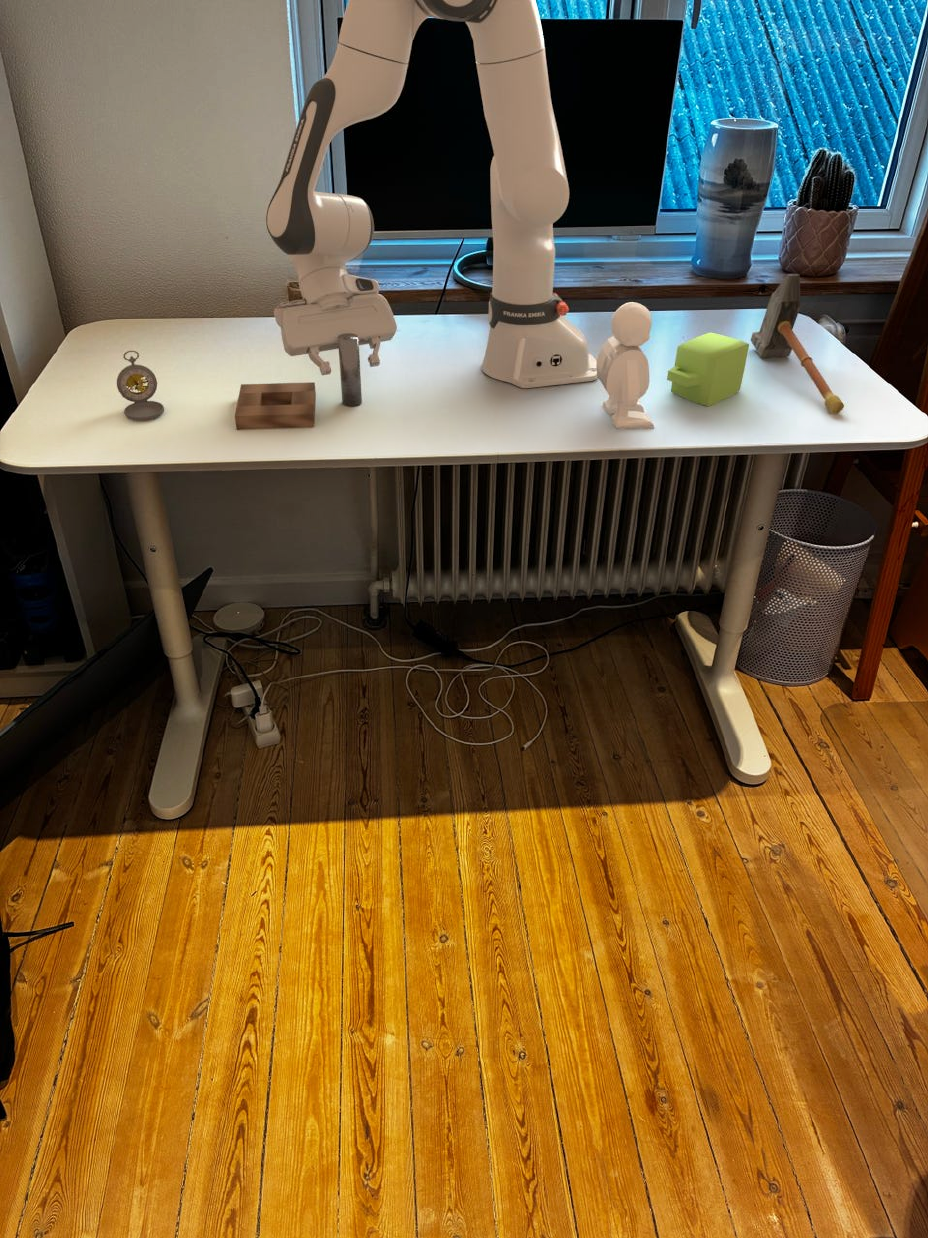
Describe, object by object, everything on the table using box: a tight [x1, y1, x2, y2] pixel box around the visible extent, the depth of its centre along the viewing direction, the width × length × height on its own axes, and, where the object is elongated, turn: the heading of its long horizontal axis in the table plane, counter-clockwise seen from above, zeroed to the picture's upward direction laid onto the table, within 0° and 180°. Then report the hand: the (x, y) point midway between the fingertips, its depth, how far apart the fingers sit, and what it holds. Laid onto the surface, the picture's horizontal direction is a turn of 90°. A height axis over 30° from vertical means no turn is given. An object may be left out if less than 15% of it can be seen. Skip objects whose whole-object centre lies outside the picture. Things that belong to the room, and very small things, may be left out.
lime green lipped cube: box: [666, 332, 750, 407], centre depth 174 cm, size 18×10×10 cm, turn 135°
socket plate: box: [234, 381, 317, 431], centre depth 166 cm, size 13×13×2 cm
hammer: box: [750, 273, 845, 415], centre depth 178 cm, size 6×16×31 cm
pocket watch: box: [116, 350, 165, 421], centre depth 163 cm, size 8×8×10 cm
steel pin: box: [338, 333, 363, 408], centre depth 166 cm, size 4×4×12 cm
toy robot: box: [596, 301, 655, 430], centre depth 161 cm, size 14×9×20 cm, turn 7°
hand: (351, 369), depth 166 cm, fingers open, 8 cm apart
